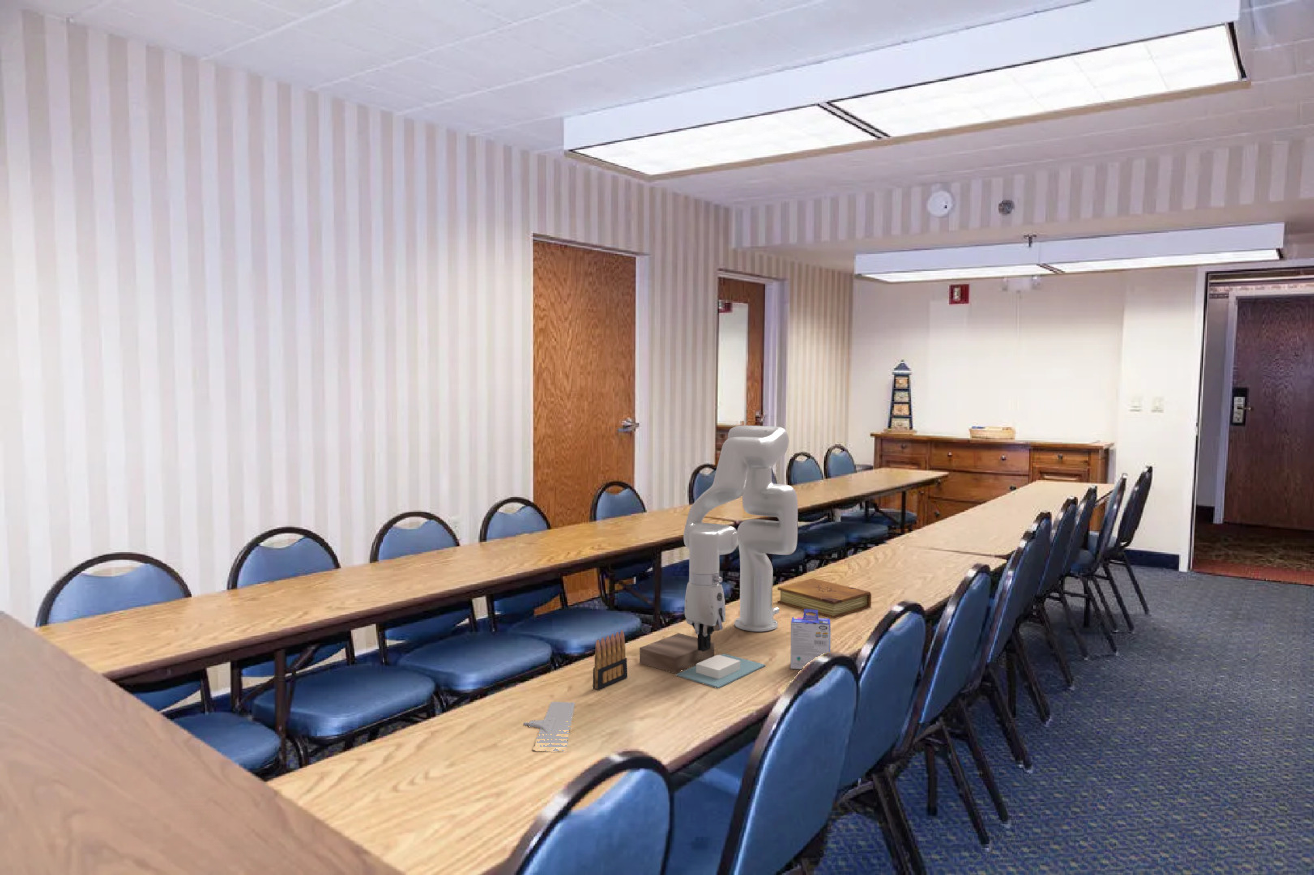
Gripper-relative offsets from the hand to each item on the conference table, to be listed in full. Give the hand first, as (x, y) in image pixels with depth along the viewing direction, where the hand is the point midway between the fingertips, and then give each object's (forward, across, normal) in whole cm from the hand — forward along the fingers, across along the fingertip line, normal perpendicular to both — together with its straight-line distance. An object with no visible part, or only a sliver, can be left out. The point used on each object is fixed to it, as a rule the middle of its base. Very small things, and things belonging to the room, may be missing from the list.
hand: (704, 649), depth 212 cm
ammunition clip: (+5, +11, +23) cm, 26 cm away
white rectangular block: (+3, -5, 0) cm, 6 cm away
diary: (+5, +6, -71) cm, 71 cm away
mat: (+5, -5, -1) cm, 7 cm away
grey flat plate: (+5, -1, +45) cm, 45 cm away
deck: (+5, +9, 0) cm, 10 cm away
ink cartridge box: (+5, -20, -18) cm, 28 cm away
